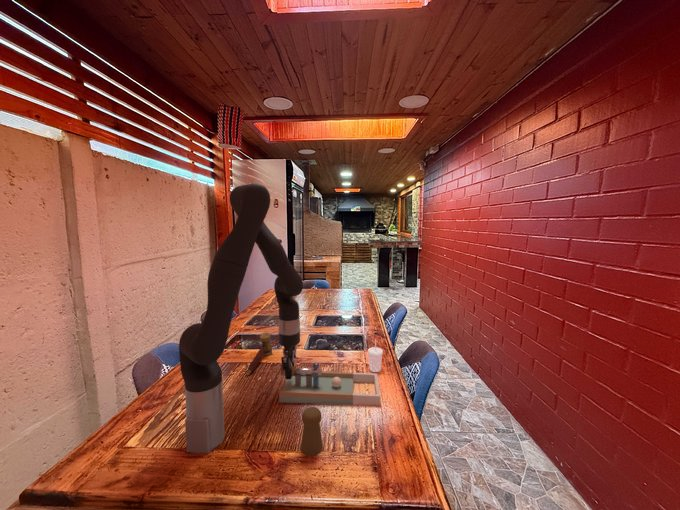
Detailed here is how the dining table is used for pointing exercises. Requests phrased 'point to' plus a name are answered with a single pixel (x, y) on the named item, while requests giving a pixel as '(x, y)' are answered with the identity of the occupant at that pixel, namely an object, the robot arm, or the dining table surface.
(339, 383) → the ball
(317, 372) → the rod
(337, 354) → the dining table surface
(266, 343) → the gavel
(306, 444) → the pepper mill
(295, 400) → the pitch board
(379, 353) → the beverage cup
